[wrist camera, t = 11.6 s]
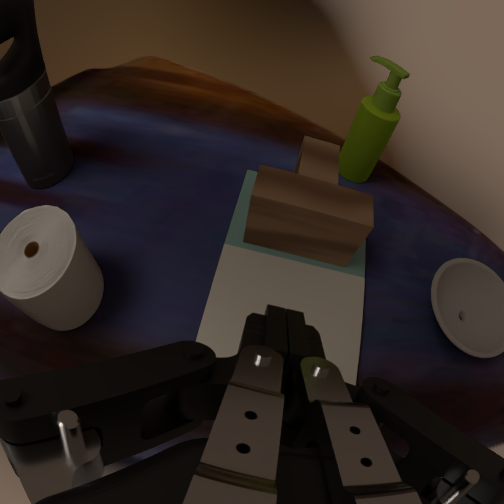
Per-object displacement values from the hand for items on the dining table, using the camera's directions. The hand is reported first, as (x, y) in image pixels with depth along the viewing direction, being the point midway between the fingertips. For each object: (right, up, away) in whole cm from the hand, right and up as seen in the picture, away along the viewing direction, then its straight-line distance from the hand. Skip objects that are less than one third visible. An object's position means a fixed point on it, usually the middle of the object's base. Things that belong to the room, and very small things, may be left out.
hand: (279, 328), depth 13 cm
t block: (+5, +8, +29) cm, 31 cm away
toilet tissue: (-24, -2, +21) cm, 32 cm away
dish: (+29, -7, +26) cm, 39 cm away
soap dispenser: (+15, +17, +37) cm, 44 cm away
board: (+4, 0, +26) cm, 26 cm away
